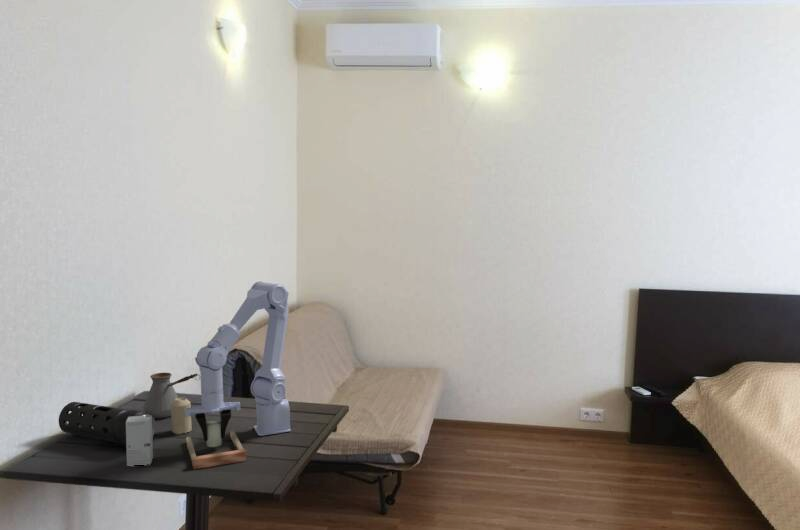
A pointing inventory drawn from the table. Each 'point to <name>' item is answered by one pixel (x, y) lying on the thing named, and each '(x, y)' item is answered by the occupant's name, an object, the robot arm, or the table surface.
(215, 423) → the pale green rounded cylinder
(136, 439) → the skincare box
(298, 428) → the table surface
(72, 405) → the muzzle brake
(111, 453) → the table surface
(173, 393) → the coffee pot
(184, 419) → the candle
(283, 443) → the table surface
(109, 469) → the table surface
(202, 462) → the channel
